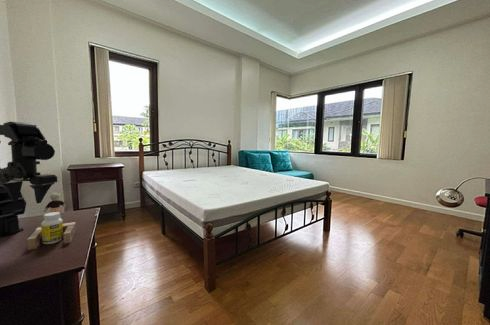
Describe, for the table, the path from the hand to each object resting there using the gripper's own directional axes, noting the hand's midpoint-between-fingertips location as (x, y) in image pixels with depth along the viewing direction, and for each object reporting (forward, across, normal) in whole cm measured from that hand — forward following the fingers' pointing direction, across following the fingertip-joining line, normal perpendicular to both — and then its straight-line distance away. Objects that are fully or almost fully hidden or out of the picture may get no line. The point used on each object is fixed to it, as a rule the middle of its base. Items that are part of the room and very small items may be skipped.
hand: (27, 202), depth 71 cm
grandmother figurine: (+13, -6, +15) cm, 21 cm away
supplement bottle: (+13, +10, -1) cm, 17 cm away
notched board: (+13, +10, 0) cm, 16 cm away
